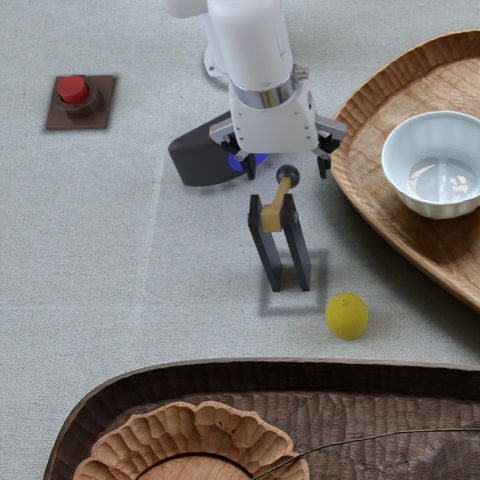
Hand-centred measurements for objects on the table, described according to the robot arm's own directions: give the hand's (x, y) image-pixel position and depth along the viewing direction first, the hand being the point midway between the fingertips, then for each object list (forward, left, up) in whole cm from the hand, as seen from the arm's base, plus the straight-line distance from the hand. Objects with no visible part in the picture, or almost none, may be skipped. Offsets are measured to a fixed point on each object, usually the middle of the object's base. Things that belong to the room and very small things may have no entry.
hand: (288, 170), depth 109 cm
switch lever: (+8, 0, +3) cm, 8 cm away
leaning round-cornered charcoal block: (-8, -10, -8) cm, 15 cm away
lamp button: (-20, -35, -5) cm, 40 cm away
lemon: (+20, +8, -8) cm, 23 cm away
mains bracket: (+13, 0, -8) cm, 15 cm away
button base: (-20, -35, -8) cm, 41 cm away
